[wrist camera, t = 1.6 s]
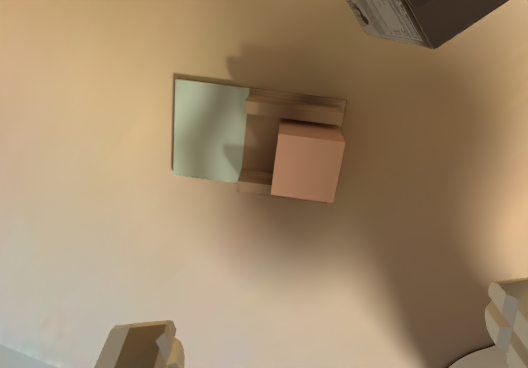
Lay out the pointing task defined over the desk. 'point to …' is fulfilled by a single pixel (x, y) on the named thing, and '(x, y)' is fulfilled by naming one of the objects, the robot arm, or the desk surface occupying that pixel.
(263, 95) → the chute
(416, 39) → the coffee box
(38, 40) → the desk surface
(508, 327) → the robot arm
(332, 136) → the block
